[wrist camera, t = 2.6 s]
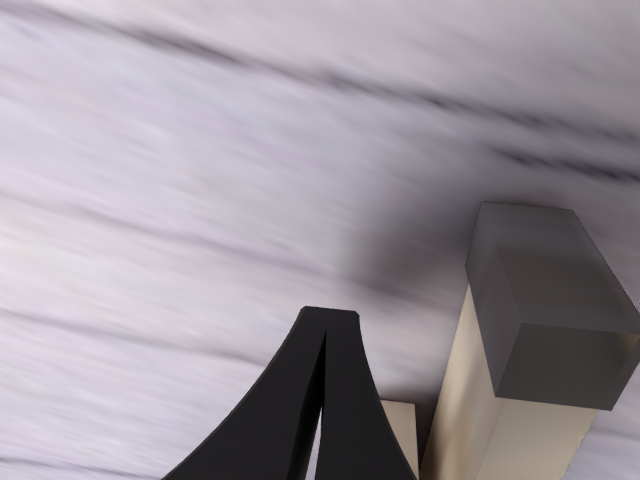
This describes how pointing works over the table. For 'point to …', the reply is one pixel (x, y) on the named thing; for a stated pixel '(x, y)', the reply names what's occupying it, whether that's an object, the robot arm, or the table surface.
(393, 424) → the tong pivot
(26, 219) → the table surface
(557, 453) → the bar
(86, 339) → the table surface
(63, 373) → the table surface
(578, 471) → the table surface
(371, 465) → the robot arm
